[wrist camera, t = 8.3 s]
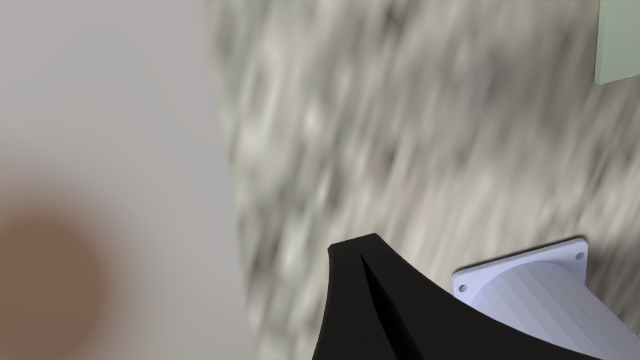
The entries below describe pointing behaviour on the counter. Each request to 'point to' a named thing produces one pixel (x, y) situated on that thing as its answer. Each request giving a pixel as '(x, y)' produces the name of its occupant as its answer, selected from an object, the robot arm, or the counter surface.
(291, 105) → the counter surface
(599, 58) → the sage mat
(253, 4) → the counter surface
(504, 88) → the counter surface
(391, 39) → the counter surface
